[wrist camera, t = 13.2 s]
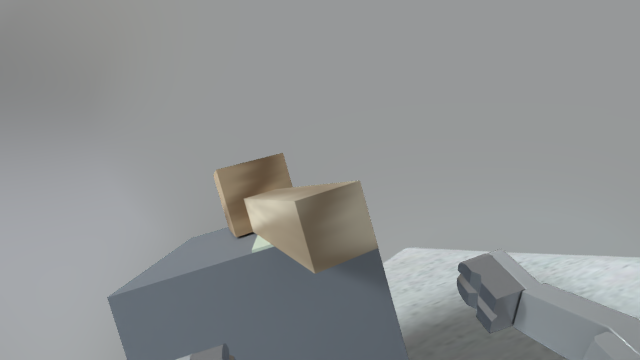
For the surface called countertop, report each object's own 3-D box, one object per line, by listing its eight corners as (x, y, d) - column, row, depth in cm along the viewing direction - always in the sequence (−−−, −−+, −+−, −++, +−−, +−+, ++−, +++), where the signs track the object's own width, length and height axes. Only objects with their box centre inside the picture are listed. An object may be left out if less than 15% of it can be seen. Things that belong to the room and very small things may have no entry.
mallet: (279, 288, 12) (234, 135, 12) (229, 229, 33) (213, 175, 33) (406, 236, 14) (371, 105, 14) (282, 212, 36) (267, 160, 35)
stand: (224, 662, 20) (106, 294, 19) (250, 434, 38) (190, 236, 37) (461, 554, 22) (368, 214, 21) (381, 385, 40) (328, 196, 39)
